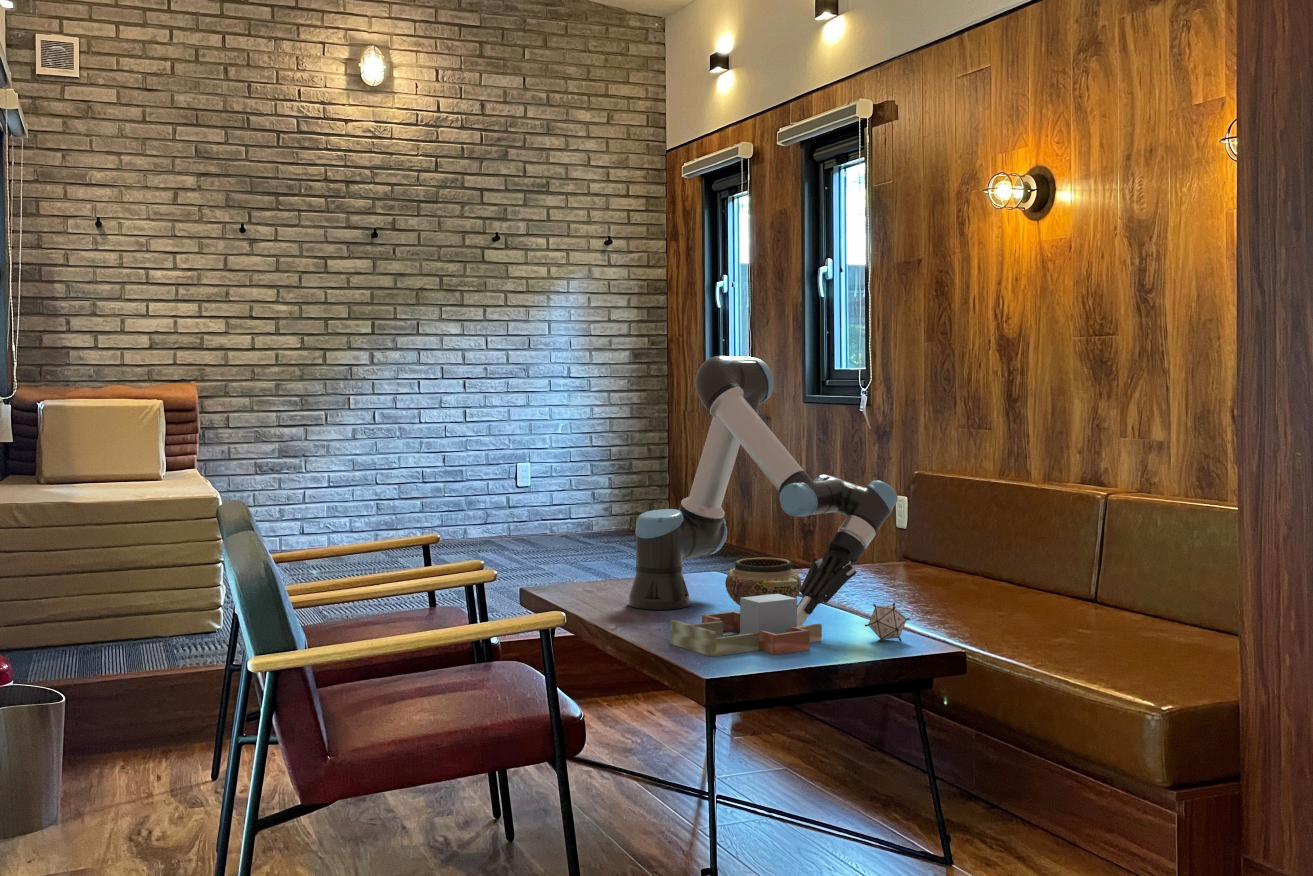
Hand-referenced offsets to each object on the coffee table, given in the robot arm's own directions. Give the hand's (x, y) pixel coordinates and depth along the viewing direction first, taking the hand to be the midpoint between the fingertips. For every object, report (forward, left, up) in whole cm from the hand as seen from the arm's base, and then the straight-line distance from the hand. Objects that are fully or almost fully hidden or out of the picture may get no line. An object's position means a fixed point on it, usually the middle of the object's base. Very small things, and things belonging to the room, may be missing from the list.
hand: (794, 623), depth 265 cm
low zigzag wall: (-2, -12, -3) cm, 12 cm away
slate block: (-1, -6, -3) cm, 7 cm away
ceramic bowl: (-25, +10, -3) cm, 27 cm away
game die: (+13, +14, -3) cm, 20 cm away
